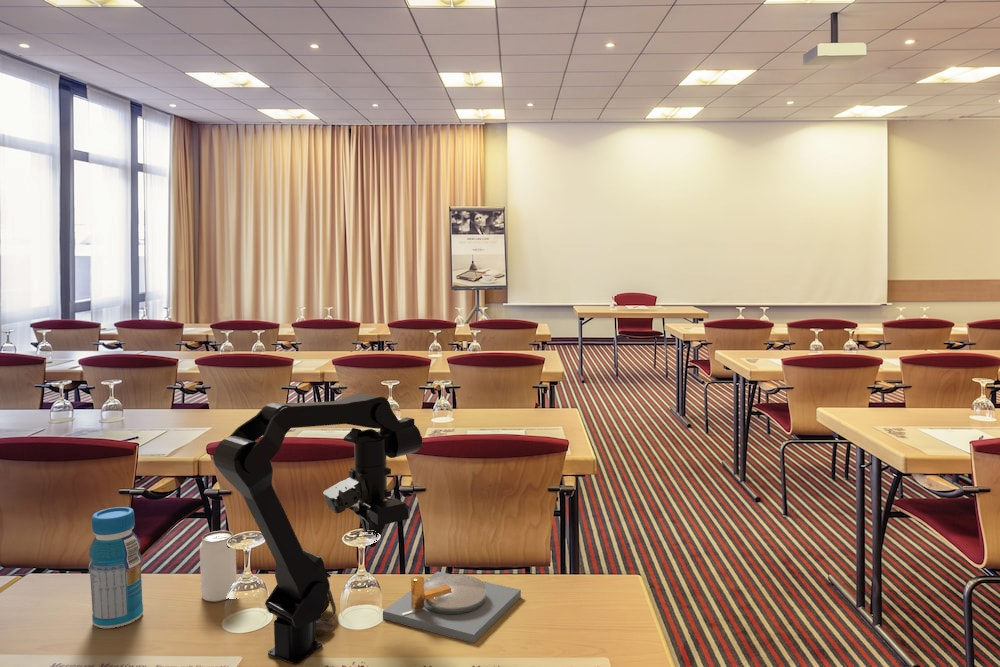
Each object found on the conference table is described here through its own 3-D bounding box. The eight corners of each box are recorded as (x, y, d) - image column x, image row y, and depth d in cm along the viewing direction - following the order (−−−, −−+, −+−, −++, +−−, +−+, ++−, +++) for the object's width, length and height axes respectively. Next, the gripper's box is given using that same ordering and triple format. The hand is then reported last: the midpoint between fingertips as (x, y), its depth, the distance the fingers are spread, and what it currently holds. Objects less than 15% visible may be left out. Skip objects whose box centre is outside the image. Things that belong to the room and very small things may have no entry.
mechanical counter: (348, 576, 133) (295, 566, 132) (338, 601, 120) (280, 590, 120) (339, 613, 133) (287, 604, 132) (329, 642, 120) (271, 632, 119)
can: (201, 591, 138) (198, 532, 137) (235, 585, 141) (233, 527, 140) (202, 605, 133) (199, 544, 132) (238, 598, 135) (236, 538, 134)
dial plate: (473, 643, 119) (473, 633, 119) (382, 618, 127) (382, 609, 127) (520, 597, 136) (520, 588, 136) (437, 578, 144) (437, 570, 144)
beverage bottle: (96, 635, 122) (90, 524, 120) (87, 617, 128) (82, 511, 126) (149, 620, 127) (144, 513, 125) (138, 603, 133) (133, 501, 132)
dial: (465, 579, 140) (465, 552, 139) (497, 602, 129) (497, 573, 129) (398, 597, 132) (397, 568, 131) (426, 624, 122) (426, 593, 121)
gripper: (308, 459, 129) (310, 541, 130) (350, 483, 114) (352, 575, 116) (363, 450, 136) (365, 528, 137) (410, 471, 121) (411, 559, 122)
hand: (372, 546), depth 128 cm, fingers closed
